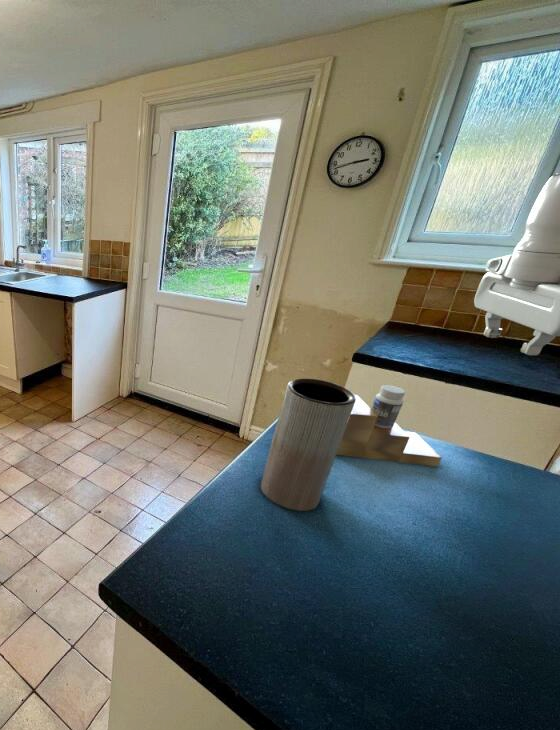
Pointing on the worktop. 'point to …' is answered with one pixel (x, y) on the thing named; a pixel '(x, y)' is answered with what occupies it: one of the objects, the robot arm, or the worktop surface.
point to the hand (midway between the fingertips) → (508, 344)
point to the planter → (306, 442)
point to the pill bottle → (387, 405)
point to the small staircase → (383, 440)
